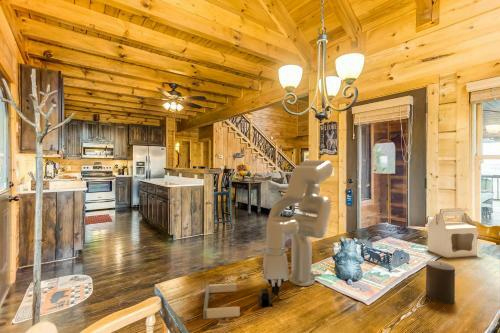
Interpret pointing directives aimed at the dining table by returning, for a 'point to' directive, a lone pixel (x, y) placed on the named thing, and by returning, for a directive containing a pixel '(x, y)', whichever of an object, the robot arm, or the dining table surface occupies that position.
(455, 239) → the gable box
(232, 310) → the u-shaped wooden bracket
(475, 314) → the dining table surface
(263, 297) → the black boxy piece
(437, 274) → the pillar candle
